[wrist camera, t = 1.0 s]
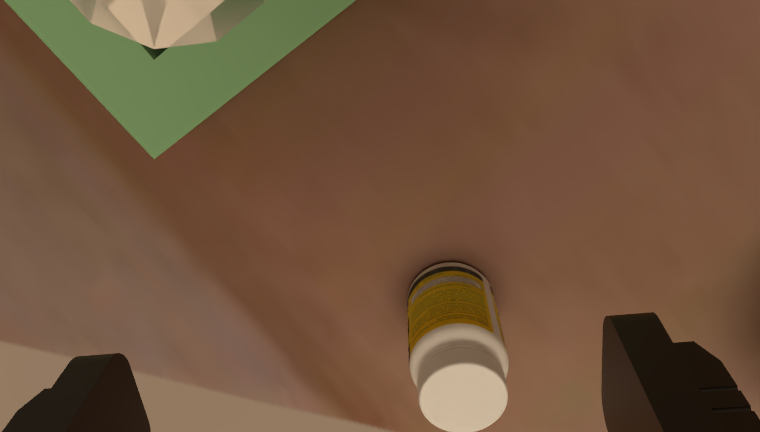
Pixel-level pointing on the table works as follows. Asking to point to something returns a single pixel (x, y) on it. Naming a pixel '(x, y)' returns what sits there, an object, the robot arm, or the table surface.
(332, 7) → the green flat block
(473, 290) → the supplement bottle
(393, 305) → the table surface
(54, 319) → the table surface
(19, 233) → the table surface
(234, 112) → the table surface
